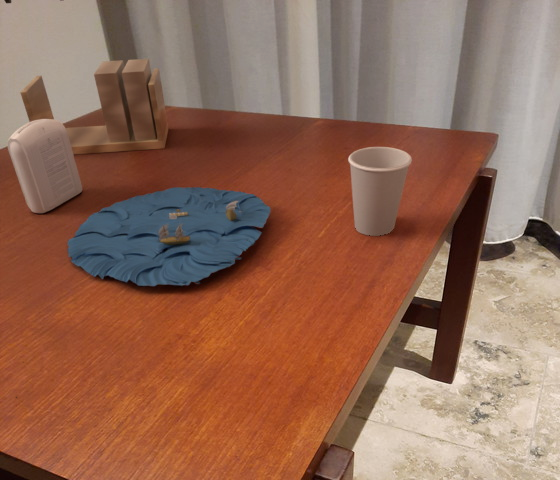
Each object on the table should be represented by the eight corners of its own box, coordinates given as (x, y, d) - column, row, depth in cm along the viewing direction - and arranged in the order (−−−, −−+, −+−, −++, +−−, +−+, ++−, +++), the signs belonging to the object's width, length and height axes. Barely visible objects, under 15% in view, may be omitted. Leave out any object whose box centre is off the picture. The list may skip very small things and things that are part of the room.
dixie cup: (335, 232, 79) (337, 162, 73) (359, 210, 84) (363, 142, 78) (390, 245, 76) (398, 173, 69) (412, 220, 81) (421, 151, 74)
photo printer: (67, 187, 95) (44, 111, 87) (87, 190, 94) (66, 113, 86) (25, 212, 88) (-4, 131, 80) (46, 216, 87) (18, 134, 79)
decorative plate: (69, 321, 67) (54, 285, 63) (71, 215, 89) (60, 183, 85) (302, 271, 71) (300, 235, 68) (249, 181, 93) (246, 150, 90)
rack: (40, 156, 107) (16, 80, 98) (54, 136, 116) (33, 64, 107) (164, 148, 108) (151, 71, 99) (168, 128, 117) (157, 57, 108)
